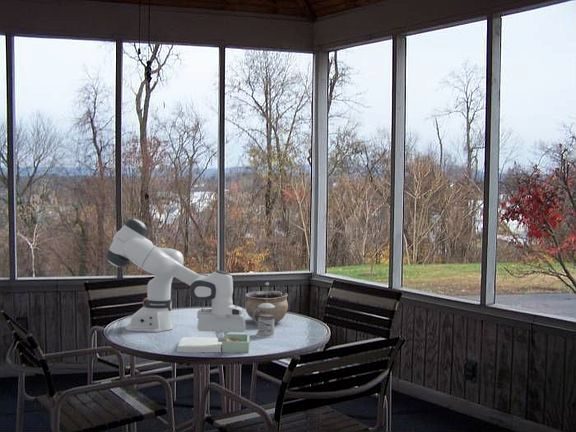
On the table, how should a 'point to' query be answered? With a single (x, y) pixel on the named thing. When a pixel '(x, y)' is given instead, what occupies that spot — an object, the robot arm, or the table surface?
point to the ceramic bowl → (267, 297)
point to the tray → (236, 343)
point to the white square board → (199, 345)
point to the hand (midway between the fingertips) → (221, 341)
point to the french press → (265, 321)
